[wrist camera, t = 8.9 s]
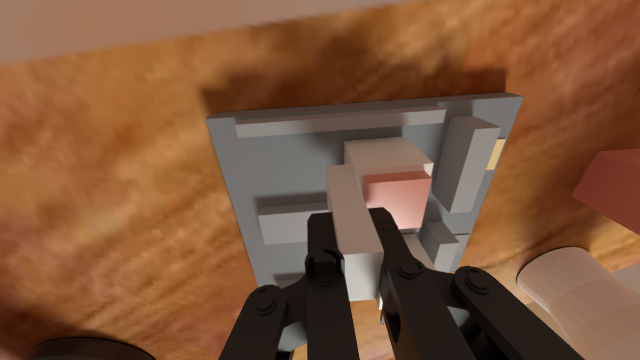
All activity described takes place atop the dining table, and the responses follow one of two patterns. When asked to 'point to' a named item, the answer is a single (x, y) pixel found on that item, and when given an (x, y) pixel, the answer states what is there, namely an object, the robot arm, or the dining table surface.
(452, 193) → the panel
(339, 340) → the robot arm
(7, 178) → the dining table surface
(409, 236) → the block
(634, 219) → the cap
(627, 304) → the cup
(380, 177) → the block
